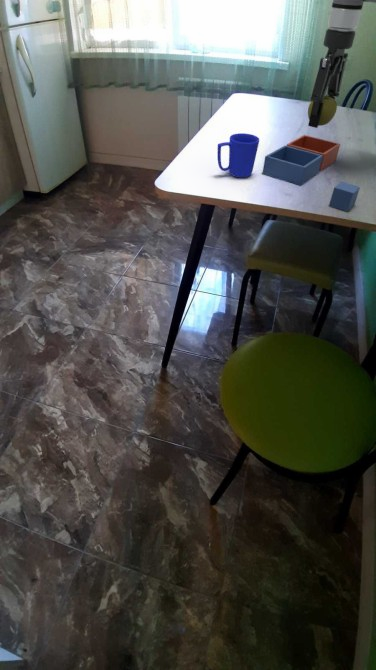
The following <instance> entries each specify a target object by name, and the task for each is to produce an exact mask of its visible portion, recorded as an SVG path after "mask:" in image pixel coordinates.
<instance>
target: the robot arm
mask: <svg viewBox="0 0 376 670" xmlns="http://www.w3.org/2000/svg"><path fill="white" fill-rule="evenodd" d="M365 2H366V3H375V4H376V0H332V4H331V9H330V10H329V11H328V16H329V17H328V22H327V26H328V27H329V28H327V29H326V30H325V35H324V38H323V47H325V48H328V49H327V52H326V55H325V57H321V58H320V59H319V65H318V70H317V74H316V77H315V81H314V85H313V89H312V92H311V96H310V102H311V101H314V102H313V106H312V111H311V115H310V120H309V119H308V125H307V126H308V127H311V128H314V129H317V128H319V126H318V124H319V120H320V116H321V111H322V107H323V102H322V101H323V98H324V96H329V97H331V98H333V99H334V100H335V101H336V97H337V98H338V97H339V96H340V91H341V86H342V81H343V78H344V72H345V68H346V64H347V63H346V62H347V59H348V57H349V53H348V52H345V51H346V50H350V49H352V48H353V45H354V41H355V37H356V31H355V30H356V29H357V28H358V26H359V22H360V18H361V14H362V11H363V6H364V3H365ZM326 92H327V94H326Z"/></svg>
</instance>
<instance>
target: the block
mask: <svg viewBox="0 0 376 670" xmlns="http://www.w3.org/2000/svg"><path fill="white" fill-rule="evenodd" d="M360 190H361V186H359V185H356V184H352V183H349V182H345V181H340V182H339V183H338V184H336V185H335V186H334V187H333V190H332V194H331V197H330V201H329V204H328V206H329V207H331V208H334V209H337V210H341V211H343V212H347V213H348V212H349V211H350V210H351V209H352V208H353V207H354V206H355V204H356V201H357V199H358V195H359V192H360Z"/></svg>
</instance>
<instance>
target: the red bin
mask: <svg viewBox="0 0 376 670" xmlns="http://www.w3.org/2000/svg"><path fill="white" fill-rule="evenodd" d="M286 146H290V147H293V148H297V149H301V150H304V151H308V152H312V153H316V154H319V155H323V157H322V161H321V165H320V169H319V173H320V172H322V171H323V170H325V169H327V167H329V166H331V165H332V164H334V163H335V162H336V161H337V157H338V155H339V151H340V148H341V143H340V142H339V143H338V142H335V141H331V140H327V139H324V138H323V139H322V138H319V137H315V136H310V135H306V134H303V135H301V136H300V137H297V138H296V139H294V140H292V141H291V142H289V143H287V144H286Z"/></svg>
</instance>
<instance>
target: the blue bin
mask: <svg viewBox="0 0 376 670" xmlns="http://www.w3.org/2000/svg"><path fill="white" fill-rule="evenodd" d="M322 157H323V155H319V154H316V153H312V152H308V151H304V150H301V149H297V148H293V147H290V146H287V144H285V145H283V146H281V147H279V148H278V149H276V150H273V151H272V152H270V153H269V154H266V155H265V156H264V162H263V167H262V173H261V174H262V175H265V176H268V177H271V178H274V179H278V180H281V181H284V182H287V183H290V184H294V185H297V186H302V185H304V184H305V183H307V182H308V181H309V180H311V179H312V178H313V177H315V176H317V175H318V174H319V173H320V172H319V169H320V165H321V161H322Z"/></svg>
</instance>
